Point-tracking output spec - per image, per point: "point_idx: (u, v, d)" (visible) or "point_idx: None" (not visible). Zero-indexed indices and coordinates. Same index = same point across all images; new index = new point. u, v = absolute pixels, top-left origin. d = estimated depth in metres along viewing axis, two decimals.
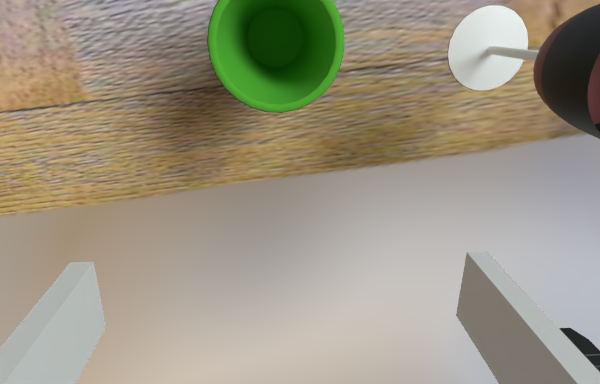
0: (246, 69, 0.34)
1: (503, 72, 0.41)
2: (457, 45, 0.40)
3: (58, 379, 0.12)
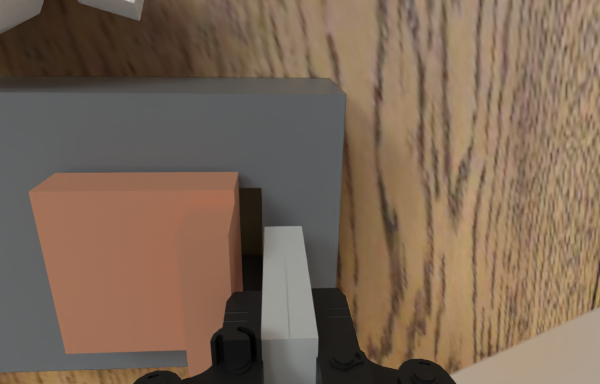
0: None
1: None
2: None
3: None
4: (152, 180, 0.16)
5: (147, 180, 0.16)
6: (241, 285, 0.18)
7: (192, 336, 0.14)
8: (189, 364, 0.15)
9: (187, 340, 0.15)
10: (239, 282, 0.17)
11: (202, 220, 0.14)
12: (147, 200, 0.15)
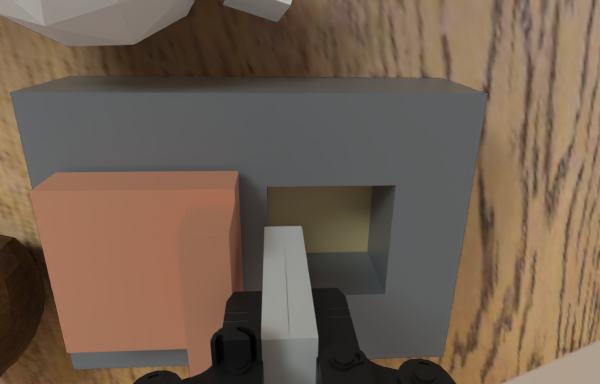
0: None
1: None
2: None
3: None
4: (152, 179, 0.16)
5: (147, 179, 0.16)
6: (242, 284, 0.18)
7: (193, 335, 0.15)
8: (190, 363, 0.15)
9: (187, 339, 0.15)
10: (240, 281, 0.17)
11: (202, 219, 0.14)
12: (148, 199, 0.15)
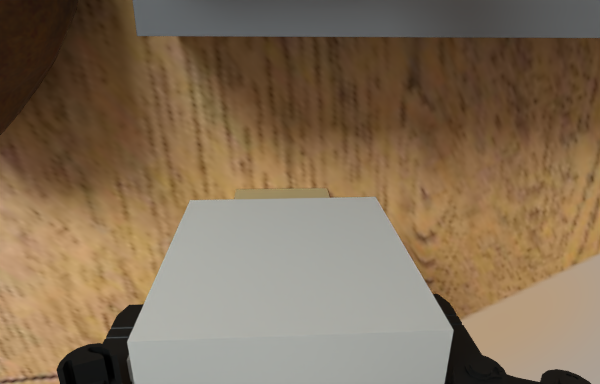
0: None
1: None
2: None
3: None
4: None
5: None
6: None
7: None
8: None
9: None
10: None
11: None
12: None
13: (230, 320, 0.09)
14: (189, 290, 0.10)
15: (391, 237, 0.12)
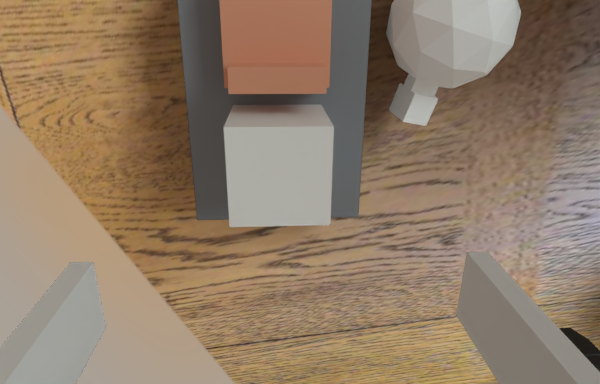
0: None
1: None
2: None
3: (58, 379, 0.12)
4: None
5: None
6: None
7: (264, 71, 0.26)
8: (245, 67, 0.26)
9: (262, 67, 0.26)
10: None
11: None
12: (325, 39, 0.28)
13: (257, 124, 0.26)
14: (241, 120, 0.27)
15: (322, 112, 0.29)
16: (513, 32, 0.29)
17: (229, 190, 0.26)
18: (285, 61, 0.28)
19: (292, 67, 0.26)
